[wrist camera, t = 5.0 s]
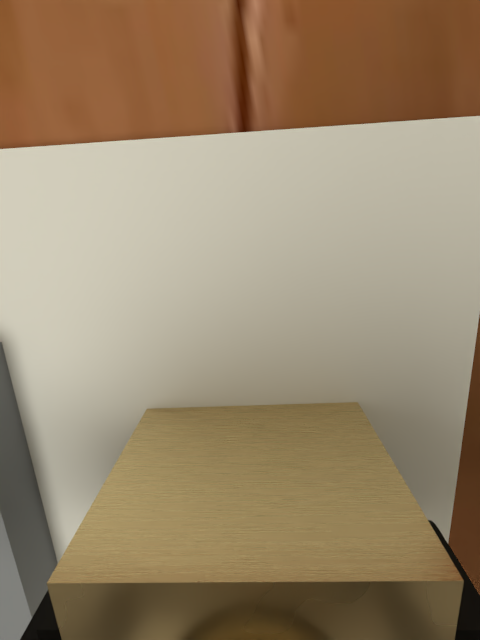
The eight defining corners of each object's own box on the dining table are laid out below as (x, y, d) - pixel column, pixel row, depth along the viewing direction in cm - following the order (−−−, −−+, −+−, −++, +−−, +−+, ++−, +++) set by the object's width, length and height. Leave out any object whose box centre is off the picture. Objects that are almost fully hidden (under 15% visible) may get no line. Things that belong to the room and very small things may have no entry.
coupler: (357, 402, 10) (492, 629, 4) (350, 567, 11) (442, 886, 6) (146, 408, 10) (19, 630, 4) (169, 568, 11) (96, 873, 6)
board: (478, 126, 9) (566, 88, 6) (413, 675, 14) (447, 770, 11) (-460, 190, 10) (-690, 178, 7) (-189, 671, 15) (-272, 756, 13)
